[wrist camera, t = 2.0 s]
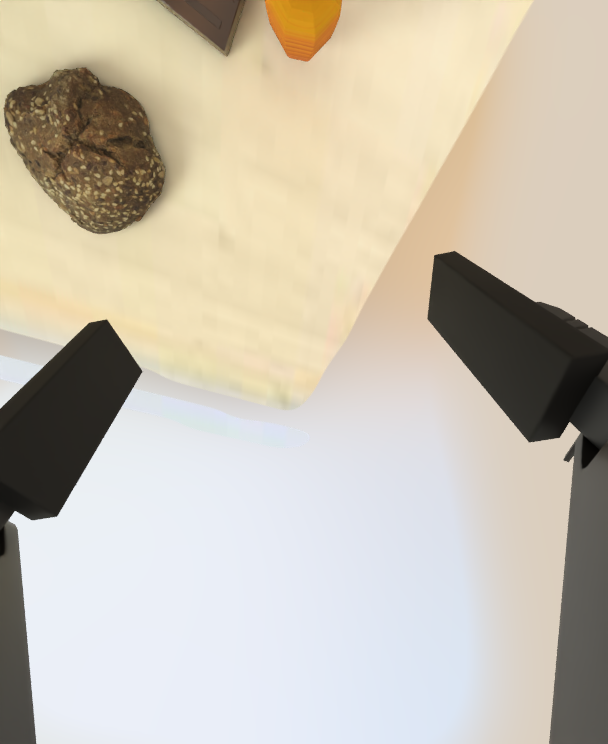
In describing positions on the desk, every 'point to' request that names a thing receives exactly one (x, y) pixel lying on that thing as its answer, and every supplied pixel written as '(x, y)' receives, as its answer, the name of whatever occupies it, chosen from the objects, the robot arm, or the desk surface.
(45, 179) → the bread roll
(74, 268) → the desk surface
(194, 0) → the bread board
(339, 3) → the carrot
